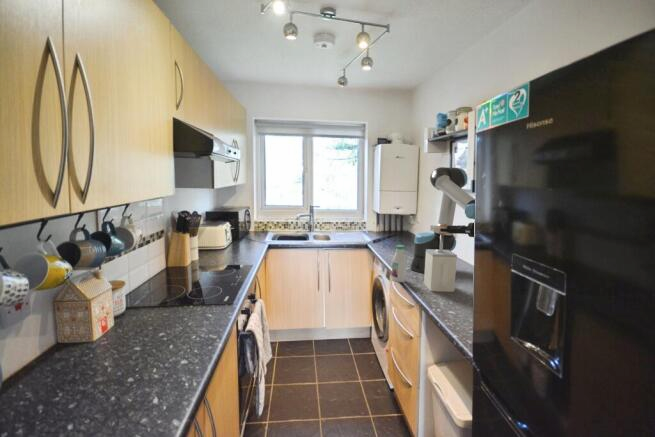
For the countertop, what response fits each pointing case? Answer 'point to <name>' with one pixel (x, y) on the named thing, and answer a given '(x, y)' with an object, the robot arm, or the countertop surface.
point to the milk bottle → (399, 265)
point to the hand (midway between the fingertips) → (432, 228)
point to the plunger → (441, 237)
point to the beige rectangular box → (440, 270)
